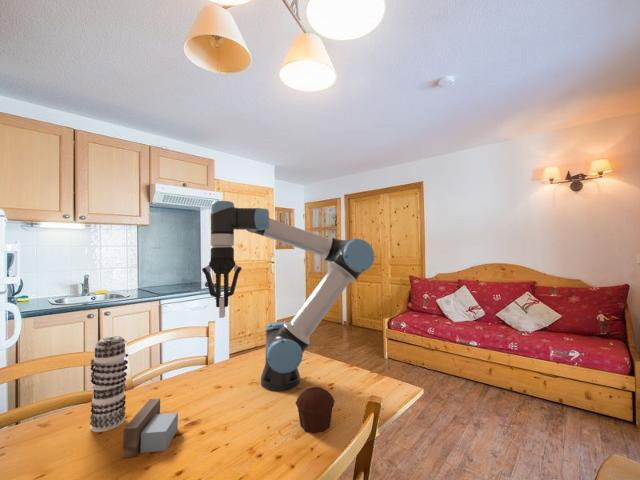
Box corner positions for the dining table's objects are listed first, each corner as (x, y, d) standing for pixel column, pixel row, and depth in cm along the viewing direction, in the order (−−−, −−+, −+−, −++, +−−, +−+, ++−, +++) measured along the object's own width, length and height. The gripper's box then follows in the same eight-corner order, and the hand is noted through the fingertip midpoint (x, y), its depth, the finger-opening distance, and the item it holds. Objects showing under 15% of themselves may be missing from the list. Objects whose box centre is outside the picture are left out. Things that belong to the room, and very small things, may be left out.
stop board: (159, 422, 88) (160, 398, 89) (135, 456, 74) (136, 428, 74) (149, 423, 88) (149, 399, 88) (122, 457, 73) (123, 428, 73)
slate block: (177, 430, 85) (177, 412, 85) (165, 451, 76) (165, 431, 76) (155, 432, 84) (155, 414, 84) (140, 453, 75) (140, 433, 75)
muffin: (321, 410, 95) (322, 378, 96) (342, 427, 86) (342, 392, 86) (288, 421, 89) (289, 387, 89) (307, 441, 79) (307, 403, 80)
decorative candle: (93, 418, 90) (96, 336, 91) (129, 412, 94) (131, 332, 95) (83, 436, 82) (86, 344, 83) (123, 428, 85) (125, 340, 86)
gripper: (243, 246, 105) (243, 313, 104) (204, 247, 103) (204, 315, 102) (241, 246, 98) (241, 318, 97) (199, 246, 96) (199, 320, 95)
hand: (222, 316), depth 100 cm, fingers closed
